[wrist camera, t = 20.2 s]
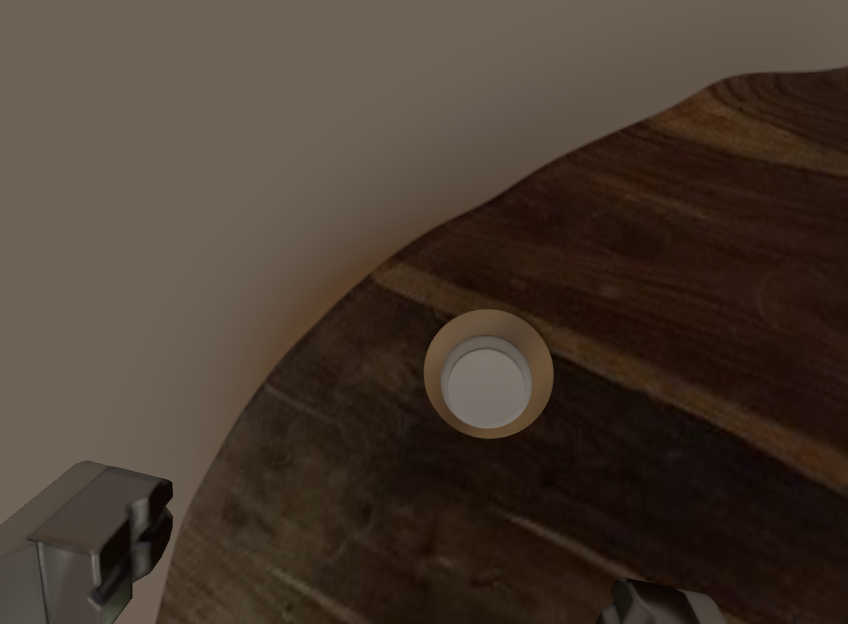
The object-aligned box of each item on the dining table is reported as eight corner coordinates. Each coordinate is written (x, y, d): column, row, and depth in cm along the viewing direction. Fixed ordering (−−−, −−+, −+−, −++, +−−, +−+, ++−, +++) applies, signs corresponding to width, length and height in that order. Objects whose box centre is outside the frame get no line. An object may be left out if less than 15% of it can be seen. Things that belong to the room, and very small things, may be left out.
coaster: (575, 346, 31) (577, 346, 31) (515, 460, 31) (516, 462, 31) (459, 287, 32) (459, 287, 32) (402, 398, 32) (401, 399, 32)
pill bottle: (449, 334, 32) (435, 332, 23) (524, 336, 31) (539, 335, 22) (447, 409, 31) (432, 437, 23) (523, 413, 31) (538, 443, 22)
